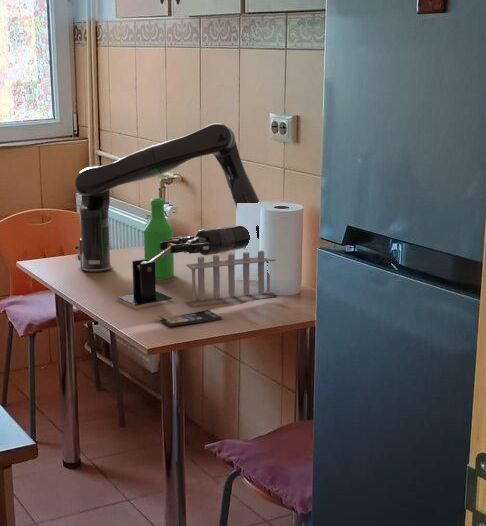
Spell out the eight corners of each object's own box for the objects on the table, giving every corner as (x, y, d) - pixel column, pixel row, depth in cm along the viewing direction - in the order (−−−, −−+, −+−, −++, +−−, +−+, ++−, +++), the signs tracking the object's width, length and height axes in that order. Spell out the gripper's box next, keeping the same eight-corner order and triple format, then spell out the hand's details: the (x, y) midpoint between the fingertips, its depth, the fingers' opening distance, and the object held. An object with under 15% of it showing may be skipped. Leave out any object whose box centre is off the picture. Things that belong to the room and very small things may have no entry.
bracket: (153, 294, 268) (152, 254, 266) (172, 302, 260) (171, 261, 257) (117, 301, 263) (116, 261, 260) (135, 309, 254) (134, 268, 251)
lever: (172, 247, 265) (169, 240, 264) (182, 250, 261) (178, 243, 260) (137, 271, 261) (133, 264, 260) (146, 275, 257) (142, 268, 256)
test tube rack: (191, 307, 255) (191, 260, 252) (186, 302, 259) (185, 256, 256) (276, 297, 261) (276, 251, 257) (269, 293, 265) (269, 248, 262)
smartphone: (221, 319, 243) (221, 315, 242) (169, 328, 237) (169, 323, 237) (206, 311, 250) (206, 307, 250) (156, 320, 244) (156, 315, 244)
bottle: (171, 283, 279) (169, 201, 273) (143, 283, 281) (140, 201, 275) (175, 276, 288) (173, 196, 281) (147, 275, 289) (145, 196, 283)
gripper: (201, 224, 274) (152, 230, 267) (230, 231, 262) (179, 238, 254) (201, 249, 276) (152, 256, 268) (230, 257, 264) (179, 265, 256)
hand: (166, 247), depth 261 cm, fingers closed on lever, 5 cm apart
